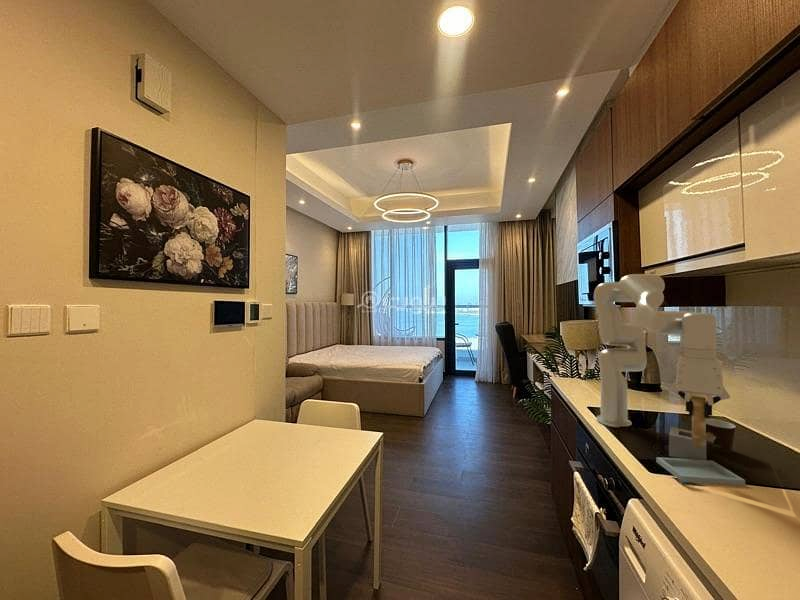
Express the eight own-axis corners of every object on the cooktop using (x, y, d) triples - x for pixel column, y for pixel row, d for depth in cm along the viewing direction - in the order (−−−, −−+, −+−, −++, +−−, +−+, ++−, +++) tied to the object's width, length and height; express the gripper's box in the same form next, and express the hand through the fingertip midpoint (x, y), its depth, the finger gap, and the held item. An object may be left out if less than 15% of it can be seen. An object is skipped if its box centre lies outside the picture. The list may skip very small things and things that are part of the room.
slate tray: (656, 465, 103) (656, 457, 103) (712, 468, 101) (712, 460, 101) (681, 484, 92) (681, 476, 92) (745, 489, 90) (745, 480, 90)
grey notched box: (668, 458, 107) (669, 434, 107) (670, 449, 113) (670, 426, 113) (706, 468, 101) (706, 443, 101) (705, 458, 107) (705, 434, 107)
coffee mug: (742, 459, 107) (743, 429, 107) (712, 456, 108) (712, 427, 108) (716, 443, 118) (716, 416, 118) (688, 441, 120) (689, 414, 120)
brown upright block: (691, 444, 96) (691, 397, 96) (691, 441, 98) (691, 395, 98) (705, 447, 94) (705, 399, 94) (705, 444, 96) (705, 397, 96)
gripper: (662, 352, 99) (662, 412, 99) (739, 359, 88) (739, 426, 88) (664, 349, 104) (664, 406, 104) (737, 355, 93) (737, 419, 93)
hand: (698, 415), depth 96 cm, fingers closed on brown upright block, 3 cm apart
